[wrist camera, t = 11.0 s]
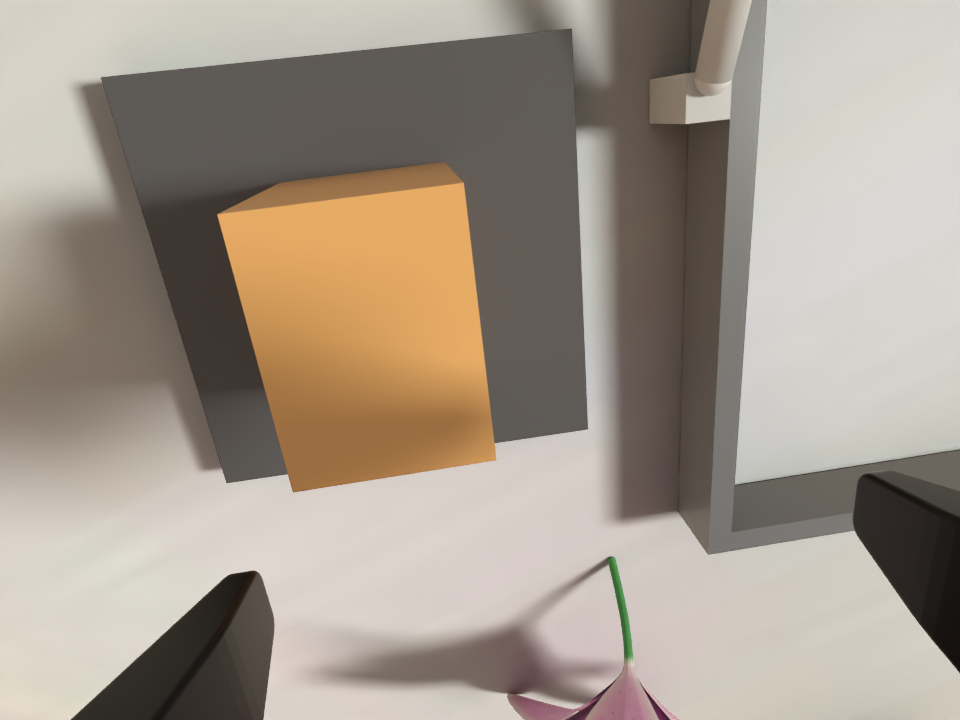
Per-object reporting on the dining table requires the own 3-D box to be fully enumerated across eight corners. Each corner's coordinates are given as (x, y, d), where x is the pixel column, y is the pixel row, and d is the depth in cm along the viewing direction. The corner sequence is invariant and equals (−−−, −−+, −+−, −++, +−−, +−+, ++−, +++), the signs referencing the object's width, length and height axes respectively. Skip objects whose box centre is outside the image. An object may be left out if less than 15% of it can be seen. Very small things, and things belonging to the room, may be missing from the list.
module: (469, 360, 19) (496, 460, 13) (326, 381, 19) (292, 492, 13) (444, 162, 17) (463, 182, 11) (280, 182, 16) (217, 214, 11)
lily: (391, 601, 25) (399, 915, 19) (605, 479, 18) (720, 901, 12) (586, 625, 32) (637, 862, 26) (794, 542, 25) (927, 835, 19)
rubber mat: (580, 415, 21) (587, 429, 20) (234, 466, 21) (226, 483, 20) (562, 33, 17) (571, 28, 16) (118, 80, 16) (100, 77, 15)
